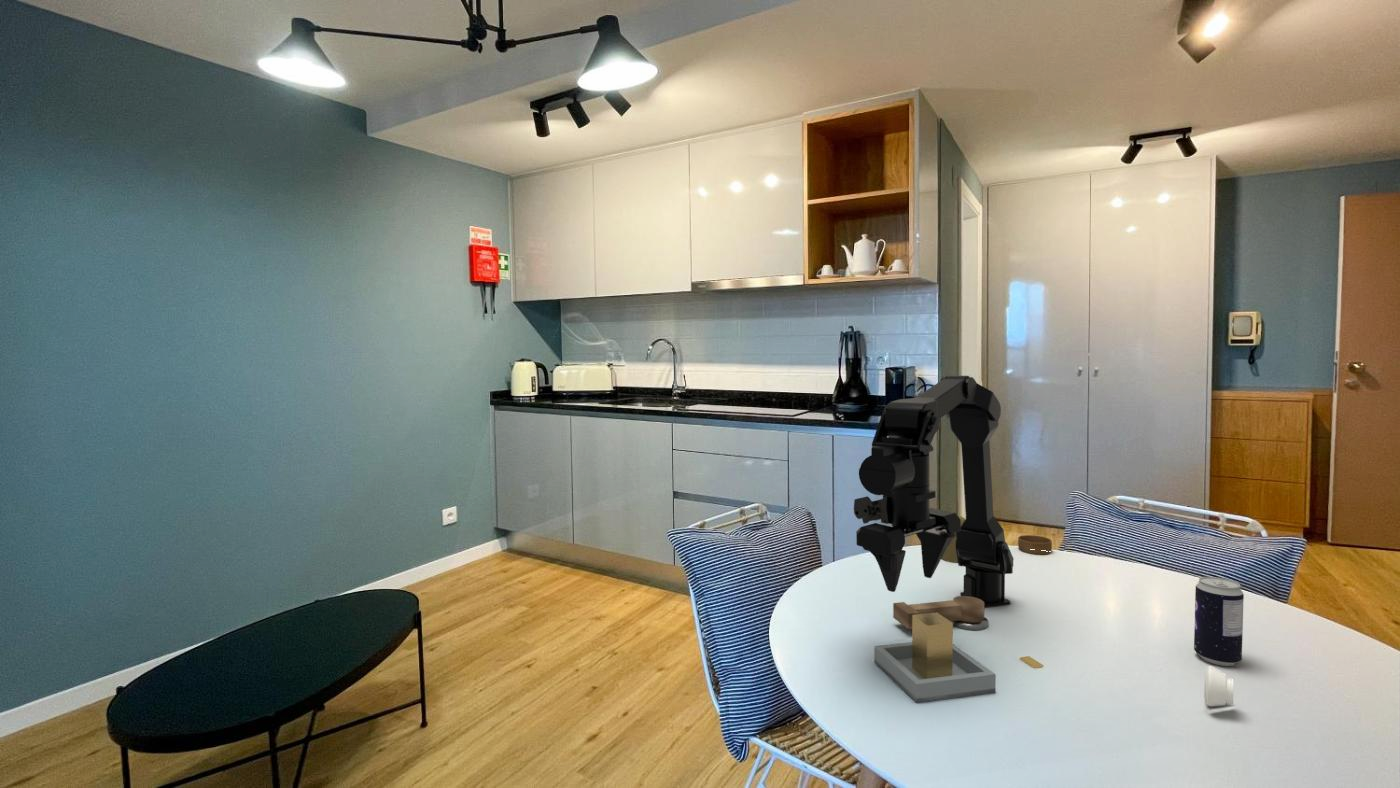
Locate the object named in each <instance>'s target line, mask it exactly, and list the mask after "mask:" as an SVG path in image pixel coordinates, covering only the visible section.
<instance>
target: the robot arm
mask: <svg viewBox="0 0 1400 788" xmlns="http://www.w3.org/2000/svg"><path fill="white" fill-rule="evenodd" d="M881 413H882V414H881V415H880V418H879V422H878V425H877V427H876V431H875V434H874V437H873V439H872V443H871V450H870V451H871V455H869V456H866V458H865V459H863V460H862V463H861V465H860V467H859V468H858V476H859V477H858V478H859V481H860V484H861V485H862V487H863V488H864V489H865V490H866V491H867V492H868V493H870V494H871V495H872V494H873V495H874V496H882V498H881V499H876V500H871V497H869V496H863V497H860V498H855V499H854V500H853V515H855V517H856V519H857V520H862V523H863V524H867V525H862V526H861V527H859V528H858V529H857V530H856V533H855V534H856V535H855V538H856V540H855V541H856V542H855V544H856V546H858V547H861V548H862V549H863V551H864V550H865V551H867V552H870V554H871V555H873V556H874V558H875V560H876V562H877V564H878V567H879V570H880V572H881V575H882V577H883V578H882V579H883V581H884V584H885V586H886V589H887V591H889V592H892V593H894V592H896V590H897V587H898V584H899V581H900V576H901V571H902V568H903V564H904V560H905V557H906V552H907V551H906V550H905V549H903V548H904V546H905V544H906V538H907V537H911V536H913V535H916V536H917V538H918V539H919V541H920V547H921V548H920V549H921V560H922V570H923V576H924V578H927V579H932V578H933V575H934V574H935V571H936V570H937V569H938V566H939V564H940V562H941V560H942V559H941V558H942V556H943V555H944V553H945V551H946V549H947V548H948V546H949V544H950V543H951V541H952V539H953V538H955V536H956V537H957V539H956V553H957V559H958V563H957V564H958V567H965V574H964V575H963V591H962V592H960V594H959V596H970V597H975V598H978V599H981V600H982V601H984V607H991V606H993V607H994V606H1003V605H1010V604H1011V600H1009V599H1007V598H1005V597H1006V596H1005V595H1006V593H1005V590H1006V589H1005V588H1006V585H1005V584H1006V583H1005V581H1006V580H1005V579H1006V574H1007V575H1009V574H1010V575H1012V574H1013V573H1014V572H1013V571H1014V570H1013V569H1014V556H1013V554H1012V552H1011V549H1010V547H1009V545H1008V543H1007V542H1006V539H1005V538H1006V537H1005V530H1004V528H1003V527H1002V525H1001V524H1000V523H999V521H998V520H997V518H996V517H995V516H994V500H993V486H992V485H993V484H992V468H991V467H992V466H991V463H992V462H991V448H990V447H991V446H990V445H991V444H990V440H991V438H992V437H993V435H994V434H995V432H996V431H997V429H998V427H999V420H1000V417H1001V413H1002V408H1001V403H1000V401H999V399H998V397H996V395H995V393H994V392H993V391H992V390H990V389H988V388H986V387H985V386H983V385H981V384H979V383H978V382H977V381H976V379H975V378H974V377H973V376H970V375H946V376H941V378H940V381H939V382H936V384H934V385H933V386H931V387H930V388H928V389H927V390H925V391H923V392H922V393H921V394H920V393H919V395H917V396H915V397H912V398H901V399H896V400H893V401H890V402H889V403H888V404H886V406H885V407H884V409H883V410H882V412H881ZM944 416H946V417H948V419H949V425H950V430H951V432H952V433H953V435H954V436H955V437H956V439H957V440H958V441H959V443H960V444H961V445H960V446H961V462H962V464H961V465H962V476H963V479H962V480H963V491H964V492H963V493H964V494H963V495H964V510H965V511H964V512H965V521H964V522H963V524H962V525H961V519H960V518H959V517H958V516H959V515H957V513H956V512H954V511H948V510H943V509H938V508H932V507H930V500H931V499H936V490H931V489H930V453H932V452H933V451H934V447H933V445H932V442H933V440H934V437H935V434H937V432H938V431H939V430H940V419H941V418H943V417H944ZM879 520H880V523H877V522H874V523H870V524H869V522H873V521H879ZM888 524H890V525H891V526H890V525H888ZM956 532H957V533H956ZM954 533H956V534H954Z"/></svg>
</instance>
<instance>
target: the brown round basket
mask: <svg viewBox="0 0 1400 788" xmlns="http://www.w3.org/2000/svg"><path fill="white" fill-rule="evenodd" d="M1017 539H1018V540H1017V543H1018V545H1017V546H1018V550H1019V551H1020V552H1022V553H1025V554H1029V555H1034V556H1048V555H1050V554H1051V553H1052V551H1053V550H1052V548H1053V547H1052V546H1053V545H1052V544H1053V541H1052V539H1050V538H1048V537H1046V536H1040V535H1033V534H1031V535H1030V534H1028V535H1027V534H1025V535H1019V536H1018V538H1017ZM1030 549H1035V550H1030ZM1041 550H1046V551H1048V552H1046V551H1041ZM1049 551H1051V552H1049Z"/></svg>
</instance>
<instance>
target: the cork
mask: <svg viewBox="0 0 1400 788" xmlns="http://www.w3.org/2000/svg"><path fill="white" fill-rule="evenodd" d="M957 516H958V517H959V518H960V519H961V525H962V524H963V522H964V521H965V519H966V517H963V516H962V515H961V516H960V515H957ZM956 533H957V532H956ZM956 533H954V534H956ZM956 539H957V537H956V536H955V538H953V539H952V541H951V543H950V544H949V546H948V548H947V549H946V551H945V553H944V555H943V556H942V558H941V560H942V561H944V562H946V563H951V564H958V559H957V553H956Z"/></svg>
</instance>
